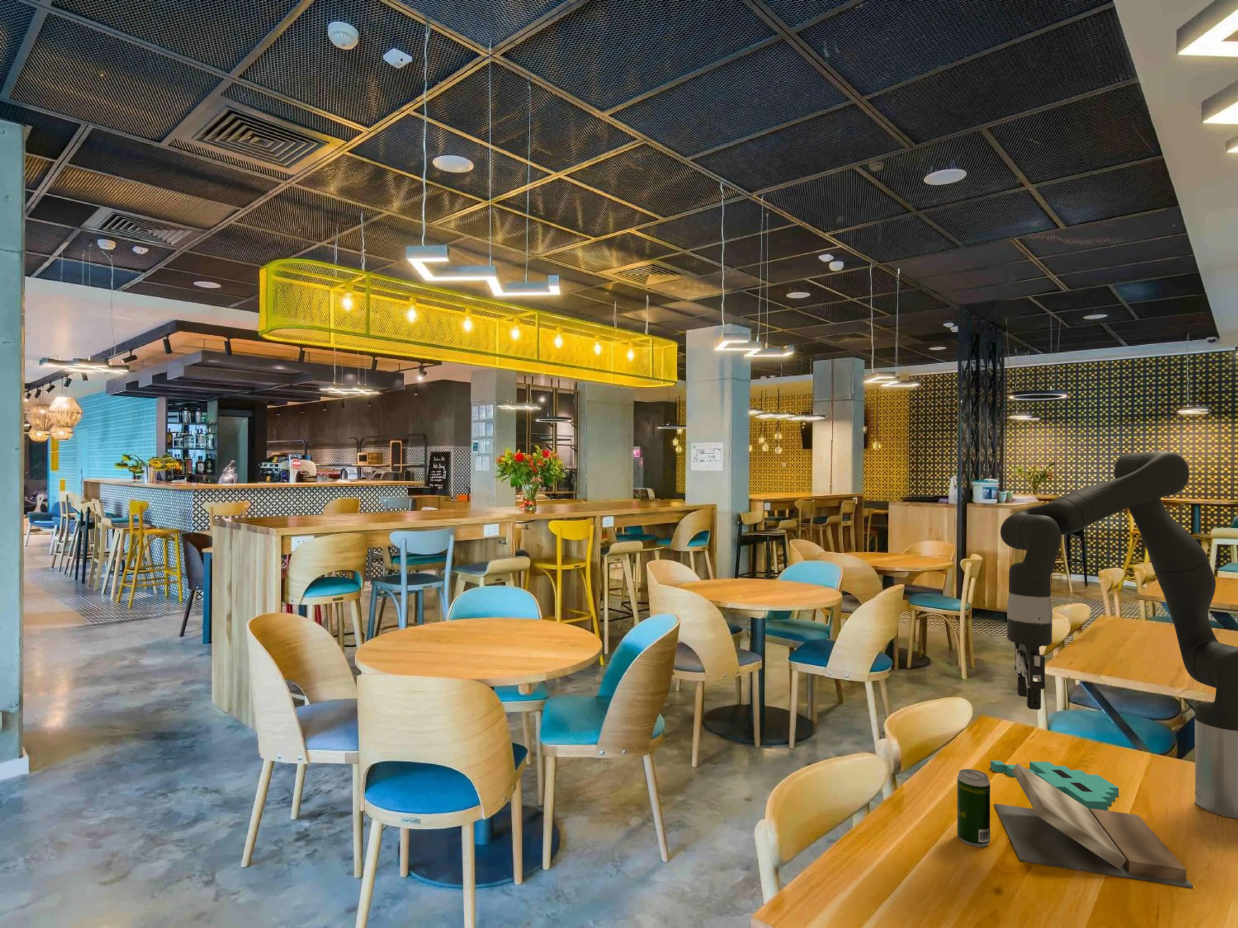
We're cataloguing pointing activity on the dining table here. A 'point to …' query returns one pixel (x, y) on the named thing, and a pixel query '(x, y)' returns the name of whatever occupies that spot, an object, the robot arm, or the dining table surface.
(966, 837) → the beer can
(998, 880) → the dining table surface
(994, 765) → the alien figure
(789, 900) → the dining table surface
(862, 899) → the dining table surface
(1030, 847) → the floor base
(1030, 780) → the beige flat slab
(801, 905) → the dining table surface
